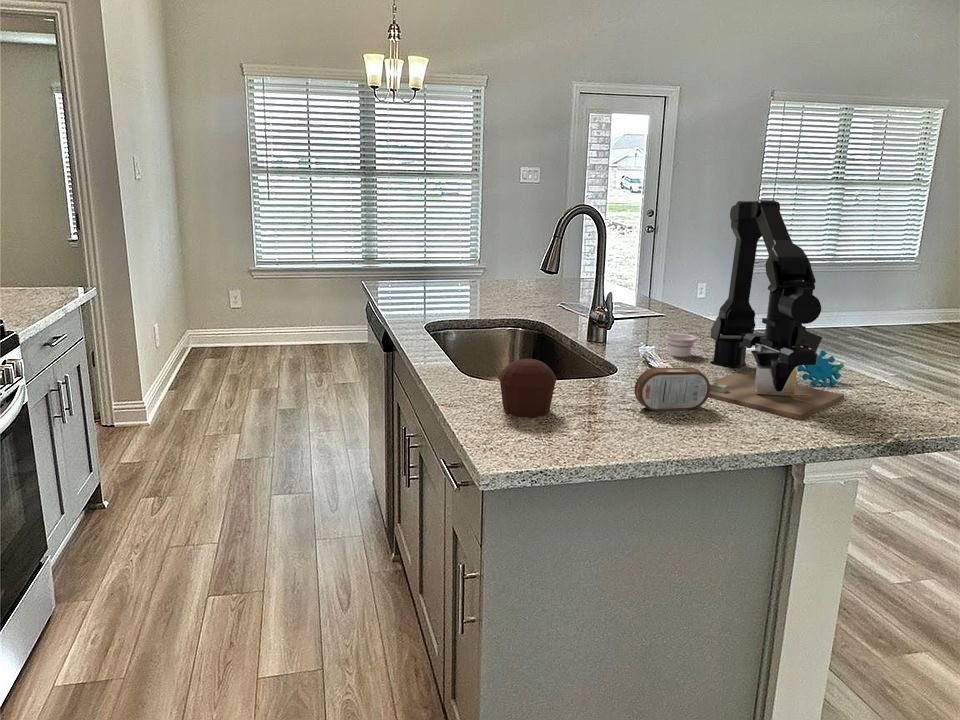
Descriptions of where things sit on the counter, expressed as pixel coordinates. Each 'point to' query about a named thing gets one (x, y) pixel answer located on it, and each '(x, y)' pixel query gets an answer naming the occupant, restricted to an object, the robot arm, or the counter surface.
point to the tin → (672, 389)
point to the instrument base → (771, 397)
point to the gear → (822, 370)
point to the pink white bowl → (681, 344)
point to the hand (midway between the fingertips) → (773, 388)
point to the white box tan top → (766, 382)
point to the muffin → (527, 388)
